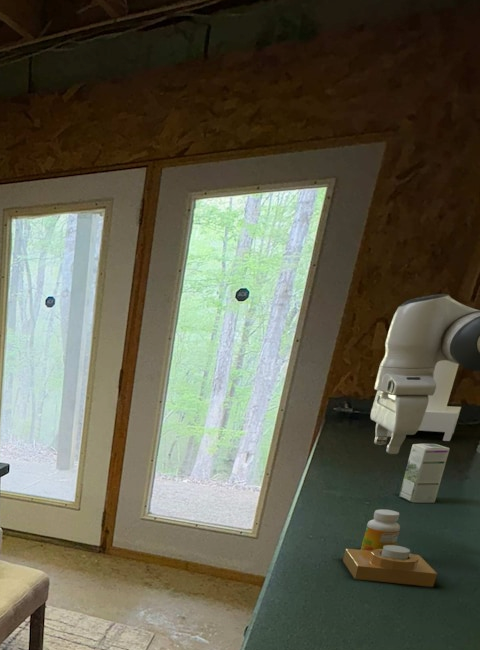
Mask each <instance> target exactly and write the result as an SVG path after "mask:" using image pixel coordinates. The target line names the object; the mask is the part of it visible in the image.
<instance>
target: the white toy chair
mask: <svg viewBox="0 0 480 650" xmlns="http://www.w3.org/2000/svg"><path fill="white" fill-rule="evenodd" d="M459 366H460V365H459V364H455V363H452V362H449V361H447V360H441V361H439V362H437V364H436V366H435V370H434V377H433V379H434V381H435V383H436V389H435V392H434V394H433V395H428V397H429V402H428V406H427V409H426V412H425V415H424V417H423V420H422V423H421V425H420V428H419V429H418V431H423V432H437V433H444V435H443V437H442V441H444V442H450V441H451V439H452V437H453V434H454V433H455V429H456V426H457V422H458V419H459V416H460V412H461V410H462V406H452V405H451V406H450V405H448V403H449V399H450V397H451V394H452V393H451V392H452V389H453V386H454V382H455V379H456V376H457V373H458V369H459ZM391 433H392V432H391V431H389V430H388V432H387V437H388V438H389V437H390V438H391Z"/></svg>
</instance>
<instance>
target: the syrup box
mask: <svg viewBox="0 0 480 650" xmlns="http://www.w3.org/2000/svg"><path fill="white" fill-rule="evenodd" d="M449 453H450V447H447V446H443V445H440V444H437V443H413V444H412V446H411V449H410V453H409V457H408V460H407V465H406V467H405V471H404V476H403V480H402V483H401V487H400V490H399V491H400V492H399V495H398V497H399V498H401V499H403V500H405V501H408V502H410V503H415V504H417V503H418V504H432V503H433V504H434V503H435V502H436V500H437V496H438V493H439V488H440V485H441V483H442V482H441V481H442V478H443V474H444V470H445V467H446V464H447V459H448V456H449Z"/></svg>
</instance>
